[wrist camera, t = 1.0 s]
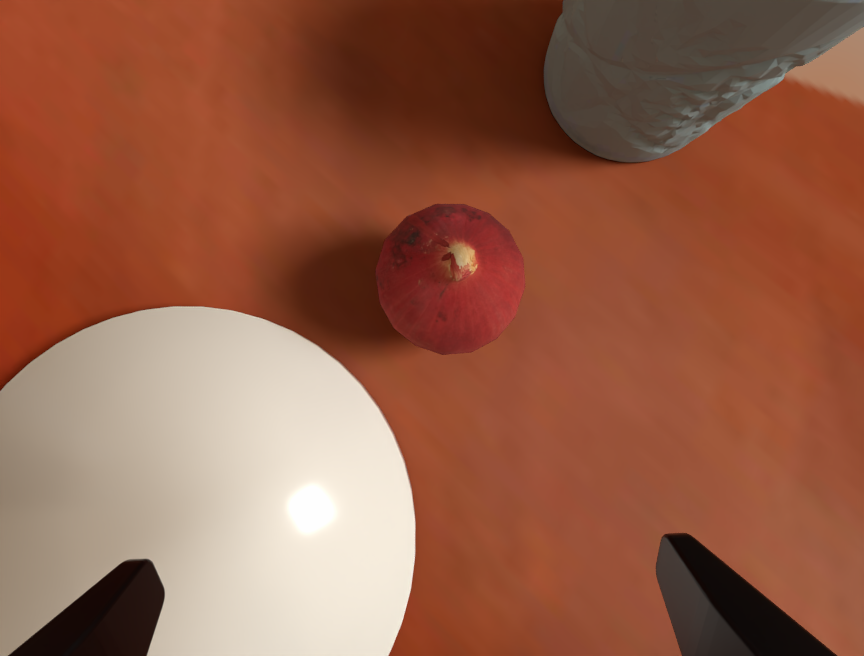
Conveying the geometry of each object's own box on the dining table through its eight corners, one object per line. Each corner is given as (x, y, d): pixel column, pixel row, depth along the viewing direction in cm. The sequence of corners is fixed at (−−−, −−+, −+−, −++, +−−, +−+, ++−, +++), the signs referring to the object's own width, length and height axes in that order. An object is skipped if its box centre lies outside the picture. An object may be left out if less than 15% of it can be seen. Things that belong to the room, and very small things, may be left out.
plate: (429, 756, 21) (430, 779, 20) (-49, 798, 20) (-78, 825, 19) (402, 297, 23) (401, 293, 22) (-37, 323, 22) (-63, 320, 21)
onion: (357, 300, 23) (324, 261, 15) (437, 210, 23) (446, 125, 15) (452, 382, 23) (470, 386, 15) (531, 288, 23) (590, 244, 15)
